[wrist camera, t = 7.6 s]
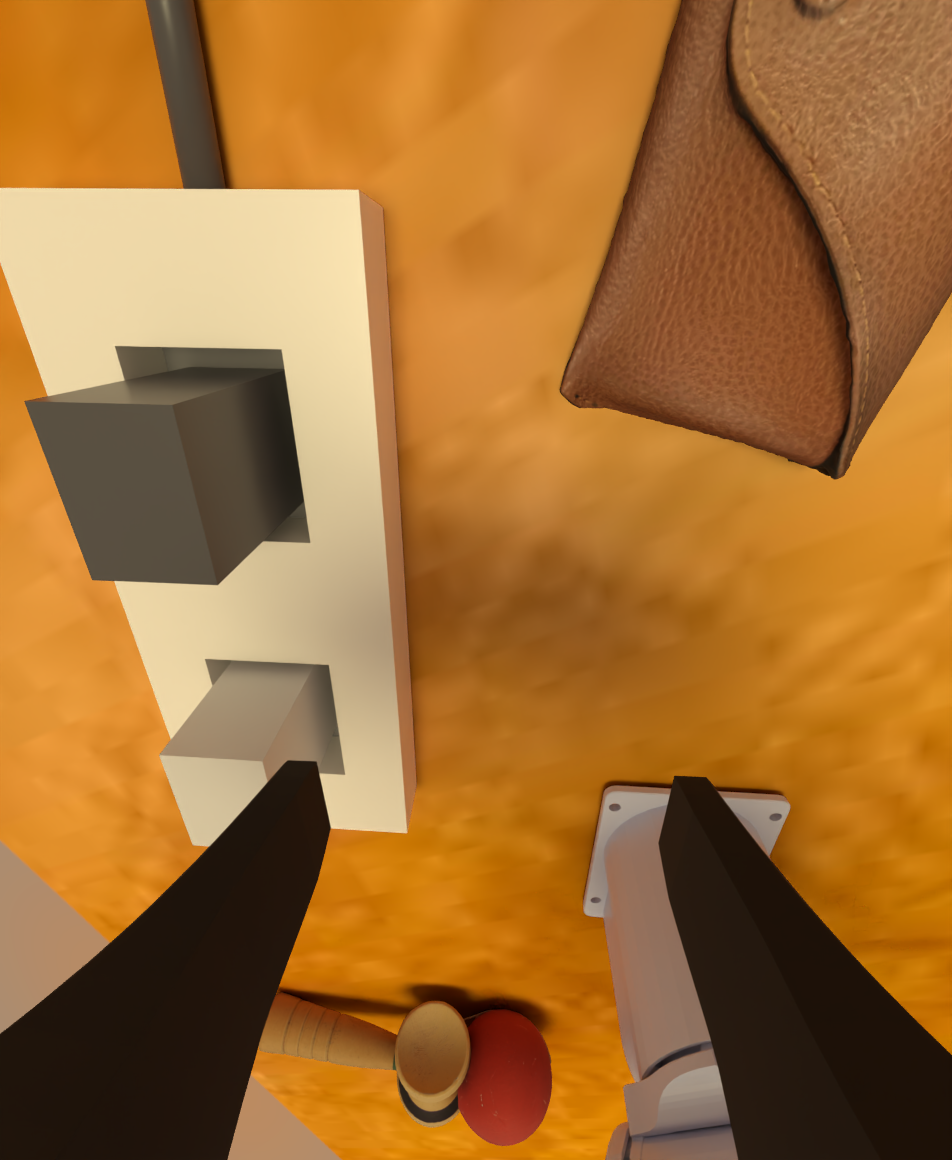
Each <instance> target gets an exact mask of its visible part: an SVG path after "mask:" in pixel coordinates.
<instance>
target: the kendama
mask: <svg viewBox="0 0 952 1160" xmlns="http://www.w3.org/2000/svg"><path fill="white" fill-rule="evenodd" d="M474 1017H475V1020H474V1021H473V1022H472V1023H471V1024H470V1025H469V1027H468V1028H467V1026H466V1024H465V1022H464V1021H467V1020H469V1019H471V1018H474ZM259 1049H260V1051H263V1052H268V1053H277V1054H286V1055H291V1056H297V1057H299V1056H300V1057H303V1058H308V1059H315V1060H319V1061H324V1062H327V1061H329V1062H331V1063H334V1064H340V1065H346V1066H353V1067H361V1068H372V1069H385V1070H397V1086H398V1092H399V1096H400V1099H401V1101H402V1104H403V1106H404V1108H405V1110H406V1111H407V1113H408V1114H409V1115H410V1116H411V1118H412V1119H413V1120H415V1121H416V1122H417V1123H419V1124H421V1125H423V1126H427V1127H439V1126H442V1125H444V1124H446V1123H448V1122H449V1121H451V1120H452V1119H453V1118H455V1116H456V1115H457V1114H458V1113H459V1112H461V1114H462V1116H463V1117H464V1119H465V1121H466V1122H467V1124H468V1125H469V1126H470V1128H471V1129H472V1130H473V1131H474V1132H475V1133H476V1134H477V1135H478V1136H480V1137H481V1138H482V1139H484V1140H485V1141H487V1142H489V1143H492V1144H495V1145H500V1146H508V1145H514V1144H517V1143H520V1142H522V1141H524V1140H525V1139H527V1138H528V1137H529V1136H530V1135H532V1134H533V1133H534V1132H535V1130H536V1129H537V1128H538V1127H539V1125H540V1124H541V1122H542V1121H543V1119H544V1116H545V1114H546V1111H547V1108H548V1105H549V1102H550V1097H551V1089H552V1073H551V1065H550V1064H551V1057H550V1054H549V1051H548V1048H547V1045H546V1043H545V1040H544V1039H543V1036H542V1035H541V1033H540V1032H539V1030H538V1029H537V1027H536V1026H535V1025H534V1024H533V1023H532V1022H531V1021H530V1020H529V1019H528V1018H526V1017H525V1016H523V1015H522V1014H520V1013H517V1012H514V1011H511V1010H506V1009H496V1010H487V1011H484V1012H482V1013H479V1014H477V1015H473V1016H471V1017H468V1018H465V1019H463V1018H462V1016H461V1015H460V1014H459V1013H458V1011H457V1010H456V1009H455V1008H454V1007H452V1006H451V1005H449V1004H447V1003H445V1002H441V1001H428V1002H425V1003H422V1004H420V1005H419V1006H417V1007H416V1008H414V1009H413V1010H411V1011H410V1012H409V1014H408V1015H407V1016H406V1018H405V1019H404V1020H403V1023H402V1025H401V1027H400V1030H399V1032H398V1035H396V1034H394V1033H392V1032H389V1031H387V1030H385V1029H382V1028H380V1027H378V1026H376V1025H374V1024H371V1023H369V1022H366V1021H363V1020H361V1019H358V1018H355V1017H352V1016H349V1015H346V1014H342V1015H341V1013H340V1012H337V1011H334V1010H331V1009H327V1008H325V1007H322V1006H320V1005H315V1004H314V1003H311V1002H308V1001H305V1000H304V1001H303V1000H302V999H300V998H297V997H295V996H292V995H290V994H287V993H283V992H280V993H279V994H277V996H276V997H275V998H274V1000H273V1003H272V1006H271V1009H270V1012H269V1015H268V1018H267V1021H266V1024H265V1027H264V1030H263V1033H262V1036H261V1039H260V1043H259Z"/></svg>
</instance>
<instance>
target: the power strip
mask: <svg viewBox="0 0 952 1160" xmlns="http://www.w3.org/2000/svg"><path fill="white" fill-rule="evenodd" d="M145 1H146V6H147V10H148V15H149V20H150V25H151V30H152V35H153V40H154V45H155V50H156V55H157V59H158V64H159V69H160V74H161V79H162V84H163V89H164V94H165V99H166V104H167V109H168V113H169V118H170V123H171V128H172V133H173V138H174V143H175V148H176V153H177V158H178V163H179V167H180V172H181V177H182V182H183V187H184V189H97V188H0V263H1V266H2V269H3V271H4V274H5V277H6V280H7V283H8V285H9V288H10V291H11V294H12V297H13V299H14V302H15V305H16V308H17V311H18V313H19V316H20V319H21V322H22V325H23V327H24V330H25V333H26V336H27V339H28V341H29V344H30V347H31V350H32V353H33V355H34V358H35V361H36V364H37V367H38V369H39V372H40V375H41V378H42V380H43V383H44V386H45V389H46V392H47V394H48V396H47V397H42V398H37V399H33V400H28V401H24V402H25V404H26V407H27V409H28V412H29V415H30V417H31V420H32V423H33V425H34V428H35V430H36V433H37V436H38V438H39V441H40V444H41V446H42V449H43V452H44V454H45V457H46V459H47V462H48V465H49V467H50V470H51V473H52V475H53V478H54V480H55V483H56V486H57V488H58V491H59V494H60V496H61V499H62V502H63V504H64V507H65V509H66V512H67V515H68V517H69V520H70V523H71V525H72V528H73V530H74V533H75V536H76V538H77V541H78V544H79V546H80V549H81V552H82V554H83V557H84V559H85V562H86V565H87V567H88V570H89V573H90V575H91V578H92V580H102V581H114V582H115V585H116V587H117V590H118V593H119V596H120V599H121V601H122V604H123V607H124V610H125V613H126V615H127V618H128V621H129V624H130V626H131V629H132V632H133V635H134V638H135V640H136V643H137V646H138V649H139V652H140V654H141V657H142V660H143V663H144V666H145V668H146V671H147V674H148V677H149V680H150V682H151V685H152V688H153V691H154V694H155V696H156V699H157V702H158V705H159V708H160V710H161V713H162V716H163V719H164V722H165V724H166V727H167V730H168V733H169V735H170V738H171V739H172V738H173V737H174V735H175V734H176V733H177V731H178V730H179V729H180V728H181V726H182V725H183V724H184V722H185V721H186V720H187V719H188V717H189V716H190V715H191V713H192V712H193V711H194V710H195V708H196V707H197V706H198V704H199V703H200V702H201V700H202V699H203V698H204V697H205V695H206V694H207V693H208V691H209V690H210V689H211V688H212V686H213V685H214V684H215V682H216V681H217V680H218V679H219V677H220V676H221V675H222V673H223V672H224V671H225V670H226V668H227V667H228V666H229V664H230V663H231V662H232V660H238V661H258V662H279V663H300V664H320V665H329V670H330V676H331V683H332V690H333V696H334V703H335V710H336V716H337V726H336V728H335V731H334V733H333V735H332V738H331V740H330V743H329V745H328V748H327V750H326V752H325V755H324V757H323V760H322V762H321V765H320V767H319V769H318V770H319V774H320V779H321V784H322V788H323V793H324V798H325V802H326V807H327V812H328V816H329V821H330V826H331V828H334V829H349V830H365V831H381V832H397V833H407V832H408V827H409V822H410V816H411V811H412V806H413V801H414V796H415V791H416V786H417V781H416V764H415V747H414V730H413V713H412V696H411V678H410V661H409V644H408V627H407V610H406V593H405V576H404V559H403V541H402V524H401V507H400V490H399V473H398V456H397V439H396V422H395V404H394V387H393V370H392V353H391V336H390V319H389V302H388V285H387V267H386V250H385V233H384V216H383V207H382V206H380V205H379V204H378V203H376V202H375V201H373V200H372V199H371V198H369V197H368V196H366V195H365V194H364V193H362V192H361V191H360V190H292V189H226V186H225V180H224V175H223V169H222V163H221V157H220V151H219V146H218V140H217V134H216V128H215V123H214V117H213V111H212V105H211V99H210V94H209V88H208V82H207V76H206V70H205V65H204V59H203V53H202V47H201V42H200V36H199V30H198V24H197V18H196V13H195V7H194V1H193V0H145Z"/></svg>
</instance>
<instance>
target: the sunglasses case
mask: <svg viewBox="0 0 952 1160" xmlns="http://www.w3.org/2000/svg"><path fill="white" fill-rule="evenodd" d="M951 292H952V0H682V3H681V7H680V11H679V14H678V18H677V21H676V24H675V26H674V29H673V32H672V35H671V38H670V42H669V44H668V47H667V52H666V59H665V63H664V67H663V70H662V74H661V77H660V80H659V84H658V87H657V94H656V98H655V101H654V103H653V107H652V110H651V113H650V116H649V119H648V122H647V125H646V128H645V130H644V134H643V138H642V143H641V147H640V150H639V153H638V155H637V158H636V162H635V167H634V170H633V174H632V178H631V181H630V184H629V188H628V191H627V193H626V195H625V197H624V201H623V209H622V212H621V215H620V217H619V220H618V223H617V226H616V230H615V234H614V237H613V239H612V243H611V247H610V250H609V252H608V255H607V258H606V261H605V264H604V267H603V270H602V273H601V276H600V279H599V281H598V283H597V285H596V289H595V293H594V295H593V298H592V301H591V304H590V306H589V309H588V313H587V315H586V318H585V322H584V325H583V327H582V329H581V331H580V334H579V336H578V340H577V342H576V344H575V347H574V349H573V352H572V354H571V357H570V359H569V361H568V364H567V366H566V369H565V372H564V376H563V379H562V384H561V388H560V392H561V394H562V395H563V396H564V397H565V398H566V399H567V400H568V401H569V402H570V403H571V404H573V405H575V406H576V407H578V408H604V407H605V408H608V409H612V410H618V411H620V412H623V413H628V414H631V415H637V416H639V417H644V418H646V419H651V420H655V421H660V422H662V423H665V424H670V425H675V426H679V427H683V428H686V429H689V430H696V431H699V432H702V433H704V434H710V435H714V436H718V437H720V438H723V439H729V440H733V441H735V442H742V443H745V444H747V445H749V446H752V447H754V448H757V449H761V450H766V451H767V452H771V453H774V454H776V455H780V456H782V457H785V458H787V459H788V461H791V462H796V463H798V464H801V465H805V466H807V467H809V468H812V469H817V470H818V471H819V472H821V473H823V474H825V475H827V476H831V478H833V479H839V478H841V477H843V476H844V475H845V473H846V471H847V469H848V468H849V466H850V462H851V461H852V457H853V456H854V454H855V452H856V450H857V448H858V446H859V444H860V442H861V441H862V439H863V437H864V436H865V434H866V432H867V430H868V428H869V427H870V425H871V423H872V422H873V420H874V419H875V417H876V415H877V414H878V412H879V411H880V409H881V407H882V406H883V404H884V402H885V401H886V399H887V398H888V396H889V394H890V393H891V392H892V390H893V388H894V387H895V385H896V384H897V382H898V380H899V379H900V378H901V376H902V374H903V372H904V370H905V369H906V367H907V366H908V364H909V363H910V361H911V359H912V357H913V356H914V355H915V353H916V351H917V349H918V348H919V346H920V345H921V343H922V341H923V339H924V338H925V336H926V335H927V333H928V332H929V330H930V329H931V327H932V325H933V323H934V321H935V319H936V318H937V316H938V315H939V313H940V311H941V309H942V308H943V306H944V304H945V303H946V301H947V300H948V298H949V297H950V294H951Z"/></svg>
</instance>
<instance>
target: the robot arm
mask: <svg viewBox="0 0 952 1160" xmlns="http://www.w3.org/2000/svg"><path fill="white" fill-rule="evenodd" d="M615 803H616V804H615ZM789 811H790V804H789V802H788V801H787V799H786V797H784V796H782V795H774V794H756V793H739V792H722V791H717V790H716V788H715V787H714V786H713V784H712V783H711V782H710V781H709V780H708V779H707V778H706V777H687V776H674V780H673V784H672V788H671V789H670V788H653V787H635V786H618V785H615V786H610V787H608V788H607V789H605V791H604V794H603V799H602V805H601V810H600V815H599V821H598V826H597V831H596V837H595V842H594V847H593V853H592V858H591V863H590V869H589V874H588V879H587V885H586V890H585V895H584V901H583V910H584V913H585V914H586V915H588V916H592V917H603V918H604V925H605V932H606V938H607V945H608V952H609V958H610V965H611V972H612V979H613V985H614V992H615V999H616V1006H617V1012H618V1019H619V1026H620V1032H621V1039H622V1045H623V1049H624V1053H625V1057H626V1060H627V1063H628V1066H629V1069H630V1071H631V1073H632V1076H633V1078H634V1080H635V1082H636V1083H632V1084H627V1085H625V1086H624V1087H623V1089H624V1096H625V1103H626V1111H627V1118H628V1122H625V1123H622V1124H620V1125H618V1126H617V1128H616V1129H615V1130H614V1132H613V1134H612V1137H611V1139H610V1142H609V1145H608V1150H607V1155H606V1158H605V1160H952V1055H951V1054H950V1053H949V1052H948V1051H947V1050H946V1049H945V1048H944V1047H943V1046H942V1045H941V1044H940V1043H939V1042H938V1041H937V1040H936V1039H935V1038H934V1037H933V1036H932V1035H931V1034H929V1033H928V1032H927V1031H926V1030H925V1029H924V1028H923V1027H922V1026H921V1025H920V1024H919V1023H918V1022H917V1021H916V1020H915V1019H914V1018H913V1017H912V1016H911V1015H910V1014H909V1013H908V1012H907V1011H906V1010H905V1009H904V1008H903V1007H902V1006H901V1005H900V1004H899V1003H898V1002H897V1001H896V1000H895V999H894V998H893V997H892V996H891V995H890V994H889V993H888V992H887V991H886V990H885V989H884V988H883V987H882V986H881V984H880V983H879V982H878V981H877V980H876V979H875V978H874V977H873V976H872V975H871V974H870V973H869V972H868V971H867V970H866V969H865V968H864V967H863V966H862V964H861V963H860V962H859V961H858V960H857V959H856V958H855V957H854V956H853V955H852V954H851V953H850V952H849V950H848V949H847V948H846V947H845V946H844V945H843V944H842V943H841V942H840V940H839V939H838V938H837V937H836V936H835V935H834V934H833V933H832V932H831V930H830V929H829V928H828V927H827V926H826V925H825V924H824V923H823V921H822V920H821V919H820V918H819V917H818V916H817V915H816V913H815V912H814V911H813V910H812V909H811V908H810V907H809V905H808V904H807V903H806V902H805V901H804V900H803V898H802V897H801V896H800V895H799V894H798V892H797V891H796V890H795V889H794V888H793V886H792V885H791V884H790V883H789V882H788V880H787V879H786V878H785V877H784V876H783V874H782V873H781V872H780V871H779V869H778V868H777V867H776V866H775V865H774V863H773V862H772V861H771V859H770V857H769V856H770V854H771V851H772V849H773V847H774V844H775V842H776V840H777V838H778V835H779V833H780V831H781V829H782V826H783V824H784V822H785V820H786V817H787V815H788V813H789ZM330 829H331V826H330V821H329V816H328V812H327V807H326V802H325V798H324V793H323V788H322V784H321V779H320V774H319V770H318V765H317V761H295V760H288V761H286V762H285V763H284V764H283V765H282V766H281V767H280V769H279V770H278V771H277V772H276V773H275V774H274V775H273V776H272V778H271V779H270V780H269V781H268V782H267V783H266V784H265V786H264V787H263V788H262V789H261V790H260V791H259V792H258V794H257V795H256V796H255V797H254V798H253V799H252V800H251V802H250V803H249V804H248V805H247V806H246V807H245V808H244V809H243V810H242V812H241V813H240V814H239V815H238V816H237V817H236V818H235V819H234V820H233V822H232V823H231V824H230V825H229V826H228V827H227V828H226V829H225V830H224V831H223V832H222V833H221V834H220V836H219V837H218V838H217V839H216V840H215V841H214V842H213V843H212V844H211V845H210V846H209V847H208V848H207V849H206V851H205V852H204V853H203V854H202V855H201V856H200V857H199V858H198V859H197V860H196V861H195V862H194V863H193V864H192V865H191V866H190V867H189V868H188V869H187V870H186V871H185V872H184V873H183V874H182V875H181V876H180V877H179V878H178V879H177V880H176V881H175V882H174V883H173V884H172V885H171V886H170V887H169V888H168V889H167V890H166V891H165V892H164V893H163V894H162V895H161V896H160V897H159V898H158V899H157V900H156V901H155V902H154V903H153V904H152V905H151V906H150V907H149V908H148V909H147V910H146V911H144V912H143V913H142V914H141V915H140V916H139V917H138V918H137V919H136V920H135V921H134V922H133V923H132V924H131V925H129V926H128V927H127V928H126V929H125V930H124V931H123V932H122V933H121V934H120V935H118V936H117V937H116V938H115V939H114V940H113V941H112V942H111V943H109V944H108V945H107V946H106V947H105V948H104V949H103V950H102V951H100V952H99V953H98V954H97V955H96V956H95V957H94V958H93V959H91V960H90V961H89V962H88V963H87V964H86V965H85V966H83V967H82V968H81V969H80V970H78V971H77V972H76V973H75V974H74V975H72V976H71V977H70V978H69V979H68V980H66V981H65V982H64V983H63V984H62V985H61V986H59V987H58V988H57V989H56V990H54V991H53V992H52V993H51V994H50V995H49V996H47V997H46V998H45V999H44V1000H42V1001H41V1002H40V1003H39V1004H37V1005H36V1006H35V1007H34V1008H33V1009H31V1010H30V1011H29V1012H27V1013H26V1014H25V1015H24V1016H22V1017H21V1018H20V1019H19V1020H17V1021H16V1022H15V1023H14V1024H12V1025H11V1026H10V1027H9V1028H7V1029H6V1030H4V1031H3V1032H2V1033H1V1034H0V1160H227V1159H228V1155H229V1151H230V1148H231V1144H232V1140H233V1136H234V1133H235V1129H236V1125H237V1121H238V1117H239V1114H240V1110H241V1106H242V1102H243V1099H244V1096H245V1092H246V1089H247V1085H248V1081H249V1078H250V1074H251V1071H252V1067H253V1064H254V1060H255V1057H256V1053H257V1050H258V1046H259V1043H260V1039H261V1036H262V1033H263V1030H264V1027H265V1024H266V1021H267V1018H268V1015H269V1012H270V1009H271V1006H272V1003H273V1000H274V998H275V995H276V992H277V989H278V987H279V984H280V981H281V979H282V976H283V973H284V971H285V968H286V965H287V962H288V960H289V957H290V954H291V952H292V949H293V946H294V944H295V941H296V938H297V935H298V933H299V930H300V927H301V925H302V922H303V919H304V916H305V914H306V911H307V908H308V905H309V903H310V900H311V897H312V894H313V892H314V889H315V886H316V883H317V880H318V877H319V873H320V869H321V865H322V862H323V858H324V854H325V850H326V845H327V841H328V837H329V833H330Z"/></svg>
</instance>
